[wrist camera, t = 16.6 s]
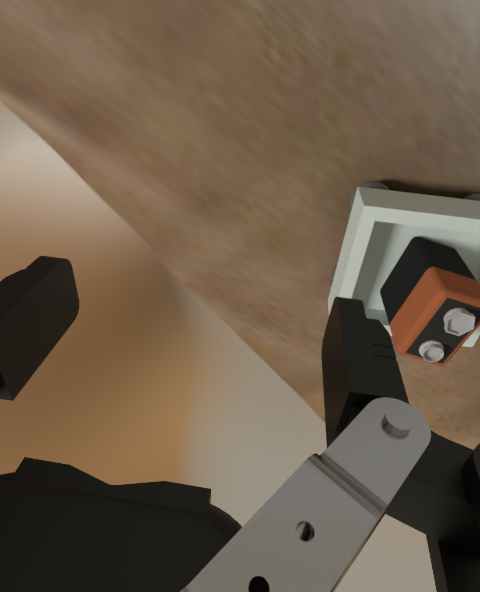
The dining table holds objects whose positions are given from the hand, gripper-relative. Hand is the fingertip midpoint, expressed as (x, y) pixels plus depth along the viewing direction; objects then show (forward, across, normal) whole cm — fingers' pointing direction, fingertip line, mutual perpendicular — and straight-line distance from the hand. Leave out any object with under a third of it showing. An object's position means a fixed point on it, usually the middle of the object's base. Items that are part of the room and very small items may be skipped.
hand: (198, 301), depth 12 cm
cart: (+30, -16, +11) cm, 36 cm away
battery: (+24, -16, +11) cm, 31 cm away
